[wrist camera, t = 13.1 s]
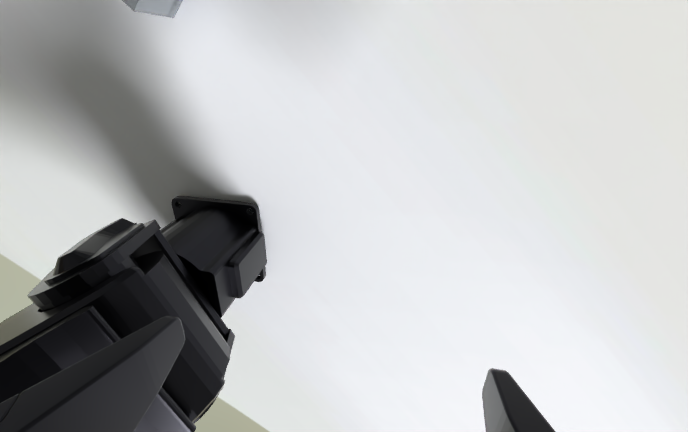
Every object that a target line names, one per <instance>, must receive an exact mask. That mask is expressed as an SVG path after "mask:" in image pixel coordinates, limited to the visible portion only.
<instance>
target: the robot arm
mask: <svg viewBox="0 0 688 432" xmlns="http://www.w3.org/2000/svg"><path fill="white" fill-rule="evenodd" d="M179 202H180V203H181V205H180V204H179ZM172 207H173V211H174V215H175V221H173V222H172V223H170V224H169V225H167V226H166V227H164V228H163V229H162V230H159V229H160V226H159V225H158V223H157V222H156V220H152V221H150V222H147V223H145V224H143V223H140V224H137V223H132V222H130V221H127V220H125V219H123V218H122V219H119V220H117V221H114V222H113V223H111V224H109V225H107V226H105V227H104V228H102V229H100V230H98V231H96V232H95V233H93V234H91V235H89V236H88V237H86V238H85V239H83V240H82V241H80V242H79V243H77V244H76V245H75V246H73V247H72V248H71V249H69V250H68V251H67V252H65V253H64V254H63V255H61V256H60V257H59V258H58V260H57V263H56V266H55V268H54V269H53V270H52V271H51V272H50V273H49V274H48V275H47V276H46V277H45V278H44V279H43V280H42V281H41V282H40V283H39V284H38V285H37V286H36V287H35V288H34V289H33V290H32V291H31V292H30V293H29V294H28V297H29V298H30V299H31V300H32V301H33V304H31V305H30V306H28V307H26V308H25V309H23V310H21V311H19V312H18V313H16V314H14V315H13V316H11V317H9V318H8V319H6V320H4V321H3V322H1V323H0V432H194V431H195V429H196V426H195V425H194V423H195V422H196V421H198V420H199V419H200V418H201V417H202V416H203V415H204V414H205V412H207V411H208V409H209V408H210V407H211V405H212V404H213V402H214V401H215V399H216V398H217V396H218V394H219V392H220V391H221V390H222V388H223V385H224V383H225V380H224V375H225V372H226V368H227V365H228V362H229V360H230V353H231V349H232V345H233V341H234V337H235V335H234V334H233V332H232V331H231V329H228V328H227V327H226V325H225V324H224V322H223V321H222V319H221V317H222V316H223V315H224V313H225V312H226V310H227V309H228V308H229V306H230V305H231V304H232V302H233V301H234V299H235V298H241V297H243V296H244V295H245V293H246V292H247V290H248V289H249V288H250V286H251V285H252V283H253V282H254V281H256V282H261V281H263V279H264V278H265V276H266V271H265V265H266V263H267V259H266V249H265V239H264V234H263V233H262V232H261V224H260V214H259V208H258V207H257V205H255V204H253V203H246V202H236V201H226V200H216V199H205V198H195V197H185V196H178V197H176V198H174V199H173V200H172ZM249 208H250V209H252V210H253V213H252V212H250V211H249ZM258 275H260V276H258ZM482 398H483V408H484V417H485V427H486V432H555V431H554V429H553V428H552V427H551V426H550V424H549V423H548V422H547V421H546V419H545V418H544V417H543V416H542V414H541V413H540V412H539V410H538V409H537V408H536V407H535V405H534V404H533V403H532V402H531V400H530V399H529V398H528V397H527V395H526V394H525V393H524V392H523V390H522V389H521V388H520V387H519V385H518V384H517V383H516V382H515V380H514V379H513V378H512V377H511V375H510V374H509V373H508V372H507V371H505V370H499V369H493V368H492V369H490V370H489V371H488V374H487V377H486V380H485V383H484V387H483V391H482Z"/></svg>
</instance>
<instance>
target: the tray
mask: <svg viewBox="0 0 688 432" xmlns="http://www.w3.org/2000/svg"><path fill="white" fill-rule="evenodd" d="M122 1H123V2H125V3H126V4H127V5H128V6H129V7H130V8H131V9H132V10H133V11H136V12H142V13H148V14H154V15H160V16H166V17H172V18H174V16H175V14H176V12H177V10H178V8H179V6H180V4H181V2H182V0H122Z"/></svg>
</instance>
